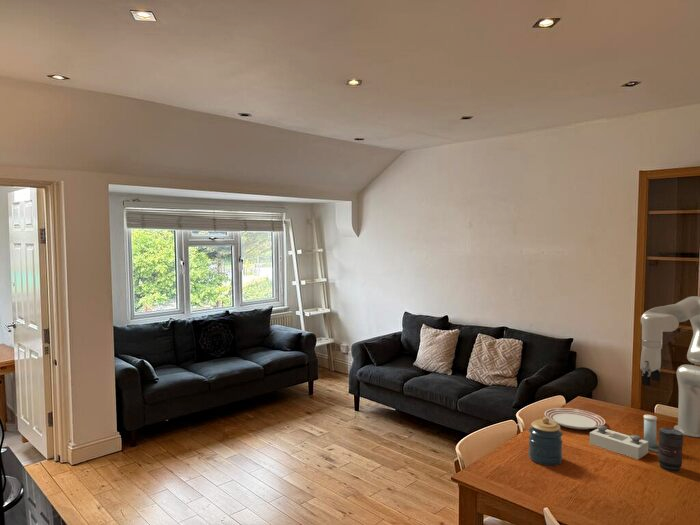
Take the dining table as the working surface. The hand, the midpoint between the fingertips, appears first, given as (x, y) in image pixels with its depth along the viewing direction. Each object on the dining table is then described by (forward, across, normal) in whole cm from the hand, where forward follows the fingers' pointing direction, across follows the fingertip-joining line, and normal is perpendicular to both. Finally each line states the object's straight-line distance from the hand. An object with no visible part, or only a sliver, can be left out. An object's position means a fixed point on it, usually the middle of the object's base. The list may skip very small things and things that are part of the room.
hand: (651, 383), depth 210 cm
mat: (+28, 0, 0) cm, 28 cm away
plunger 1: (+27, +12, -15) cm, 33 cm away
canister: (+29, +46, -22) cm, 58 cm away
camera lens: (+28, +15, +13) cm, 35 cm away
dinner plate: (+29, -2, -35) cm, 45 cm away
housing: (+28, +12, -8) cm, 32 cm away
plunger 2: (+27, +12, -1) cm, 29 cm away
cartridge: (+28, 0, 0) cm, 28 cm away
